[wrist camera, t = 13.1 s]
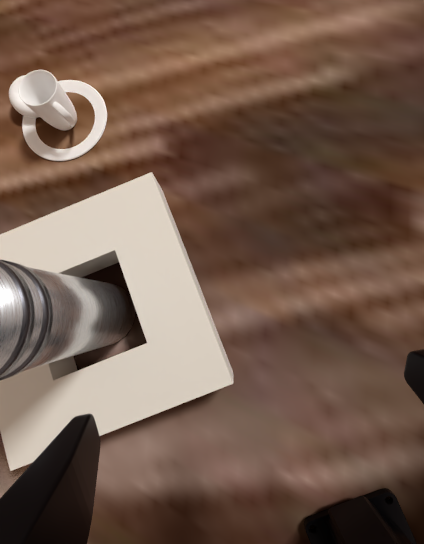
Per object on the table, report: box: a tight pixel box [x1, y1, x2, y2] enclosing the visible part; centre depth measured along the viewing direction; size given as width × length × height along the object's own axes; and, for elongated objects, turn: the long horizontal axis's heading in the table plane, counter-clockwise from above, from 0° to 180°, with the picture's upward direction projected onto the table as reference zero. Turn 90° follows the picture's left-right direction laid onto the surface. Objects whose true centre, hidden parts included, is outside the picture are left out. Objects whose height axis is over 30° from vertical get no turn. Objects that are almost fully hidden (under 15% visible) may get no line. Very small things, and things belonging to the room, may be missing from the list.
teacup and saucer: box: [9, 70, 107, 161], centre depth 23 cm, size 9×8×4 cm
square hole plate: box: [0, 172, 233, 471], centre depth 21 cm, size 16×16×3 cm
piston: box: [0, 260, 135, 380], centre depth 16 cm, size 5×5×13 cm
